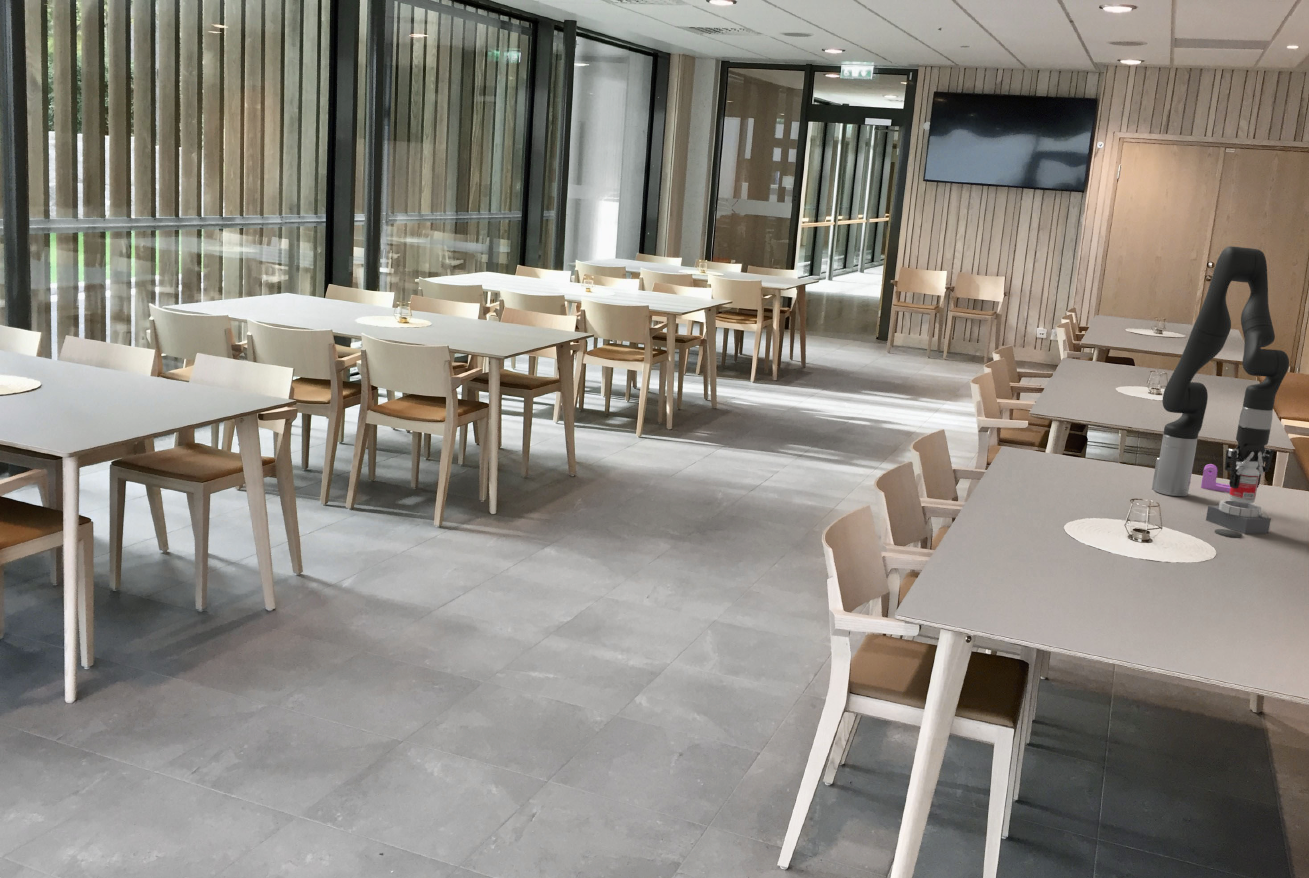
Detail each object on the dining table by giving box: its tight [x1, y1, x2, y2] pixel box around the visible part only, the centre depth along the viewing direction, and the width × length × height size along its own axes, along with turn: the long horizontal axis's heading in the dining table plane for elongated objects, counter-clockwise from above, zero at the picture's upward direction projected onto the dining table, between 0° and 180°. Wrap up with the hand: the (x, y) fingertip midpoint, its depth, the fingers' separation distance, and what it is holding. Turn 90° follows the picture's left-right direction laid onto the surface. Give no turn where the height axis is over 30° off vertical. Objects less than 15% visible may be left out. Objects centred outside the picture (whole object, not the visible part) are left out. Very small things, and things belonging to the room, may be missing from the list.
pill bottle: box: [1228, 461, 1260, 504], centre depth 297 cm, size 6×6×11 cm
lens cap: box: [1214, 528, 1243, 539], centre depth 291 cm, size 6×6×1 cm
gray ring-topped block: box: [1205, 499, 1272, 535], centre depth 299 cm, size 13×10×6 cm
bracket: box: [1200, 463, 1231, 493], centre depth 343 cm, size 13×6×7 cm, turn 63°
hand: (1243, 487), depth 297 cm, fingers closed on pill bottle, 6 cm apart
